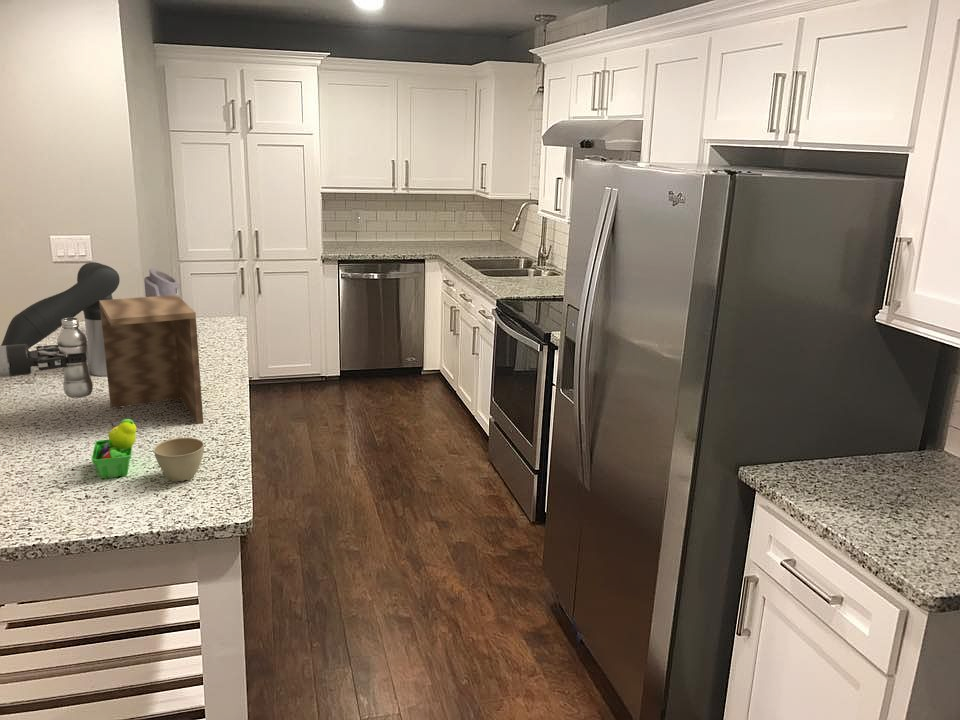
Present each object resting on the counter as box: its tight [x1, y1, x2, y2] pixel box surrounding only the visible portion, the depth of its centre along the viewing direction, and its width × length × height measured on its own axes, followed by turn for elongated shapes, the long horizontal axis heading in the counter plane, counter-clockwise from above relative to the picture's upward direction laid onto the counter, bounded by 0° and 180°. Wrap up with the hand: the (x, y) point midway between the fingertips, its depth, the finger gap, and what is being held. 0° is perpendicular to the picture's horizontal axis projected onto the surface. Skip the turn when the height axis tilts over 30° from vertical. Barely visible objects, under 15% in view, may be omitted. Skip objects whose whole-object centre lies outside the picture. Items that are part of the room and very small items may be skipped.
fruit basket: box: [91, 418, 137, 479], centre depth 165 cm, size 11×9×11 cm
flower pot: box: [153, 437, 205, 482], centre depth 163 cm, size 10×10×7 cm
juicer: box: [143, 268, 181, 298], centre depth 270 cm, size 30×16×24 cm, turn 98°
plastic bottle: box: [57, 317, 94, 399], centre depth 188 cm, size 6×7×20 cm
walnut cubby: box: [99, 295, 204, 425], centre depth 195 cm, size 19×23×29 cm
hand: (84, 353), depth 189 cm, fingers closed on plastic bottle, 6 cm apart
